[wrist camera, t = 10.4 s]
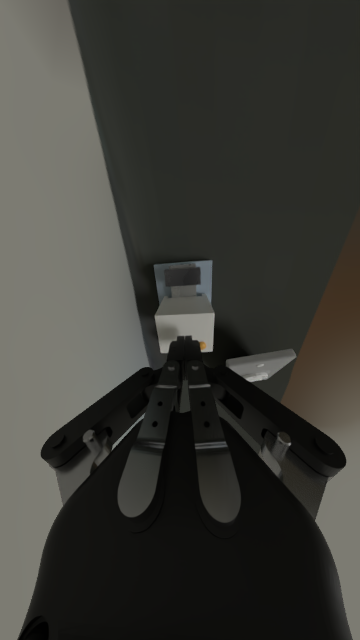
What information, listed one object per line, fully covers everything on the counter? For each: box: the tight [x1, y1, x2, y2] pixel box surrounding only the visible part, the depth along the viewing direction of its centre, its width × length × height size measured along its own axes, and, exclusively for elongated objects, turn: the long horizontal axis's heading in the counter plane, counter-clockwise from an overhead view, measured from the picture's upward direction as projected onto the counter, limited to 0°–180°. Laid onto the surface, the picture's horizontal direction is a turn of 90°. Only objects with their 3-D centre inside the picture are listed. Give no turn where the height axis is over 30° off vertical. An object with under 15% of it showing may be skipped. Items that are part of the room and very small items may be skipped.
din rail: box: [164, 263, 201, 298], centre depth 20 cm, size 14×4×3 cm, turn 4°
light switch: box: [226, 349, 296, 382], centre depth 25 cm, size 8×6×14 cm
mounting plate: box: [154, 260, 212, 305], centre depth 22 cm, size 14×8×2 cm, turn 4°
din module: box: [155, 294, 215, 353], centre depth 18 cm, size 5×6×7 cm
